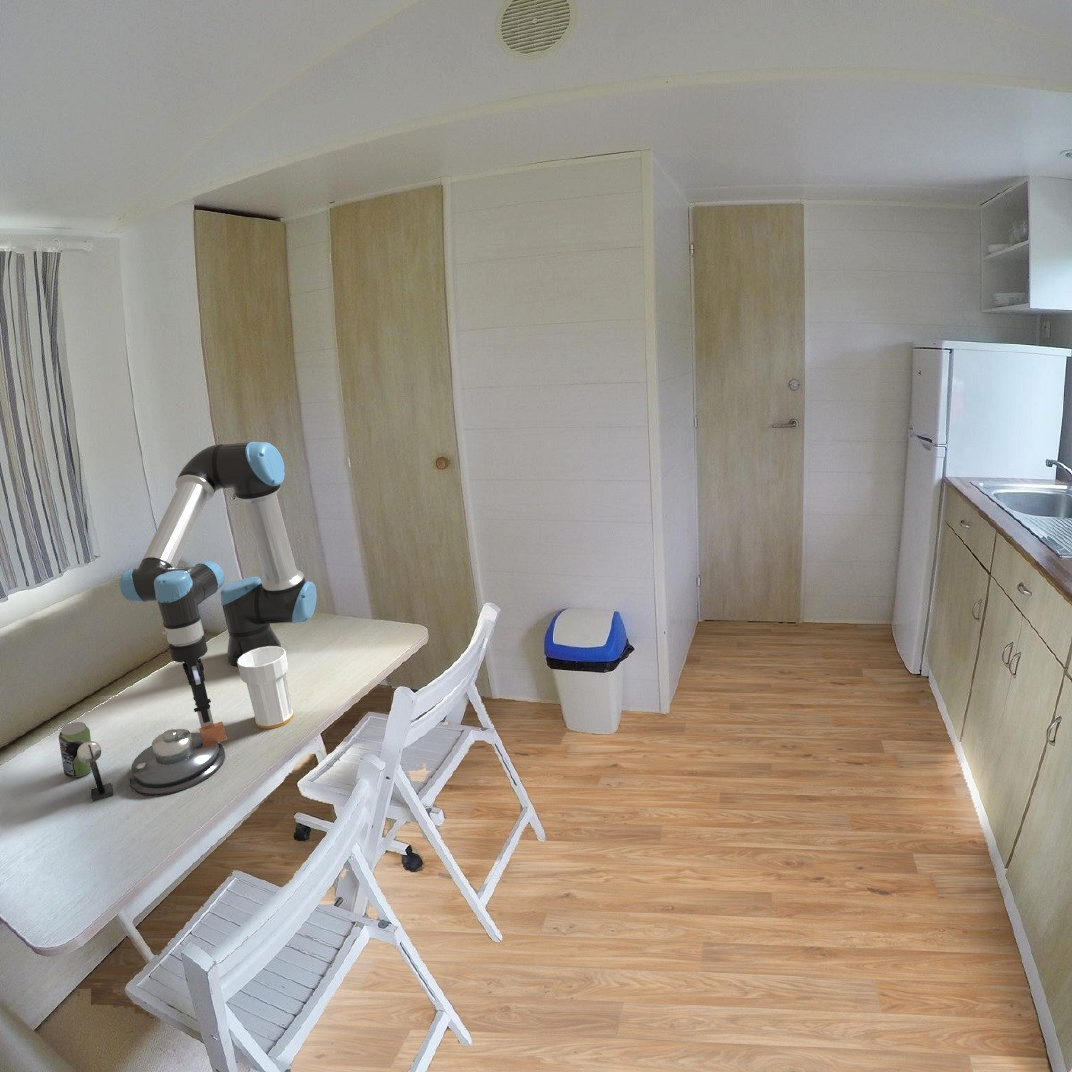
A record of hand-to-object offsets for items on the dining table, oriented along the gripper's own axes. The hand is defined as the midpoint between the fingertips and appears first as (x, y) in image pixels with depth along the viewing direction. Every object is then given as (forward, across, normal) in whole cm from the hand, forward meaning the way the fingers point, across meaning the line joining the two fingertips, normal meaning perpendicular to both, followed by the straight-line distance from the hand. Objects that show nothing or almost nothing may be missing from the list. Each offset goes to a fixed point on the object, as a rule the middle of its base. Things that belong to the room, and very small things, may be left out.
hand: (208, 731), depth 178 cm
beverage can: (+5, -10, -27) cm, 29 cm away
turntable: (+4, +2, -7) cm, 8 cm away
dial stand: (+5, +2, -23) cm, 24 cm away
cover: (+2, +2, -8) cm, 8 cm away
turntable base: (+5, +2, -8) cm, 10 cm away
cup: (+5, -6, +15) cm, 17 cm away
